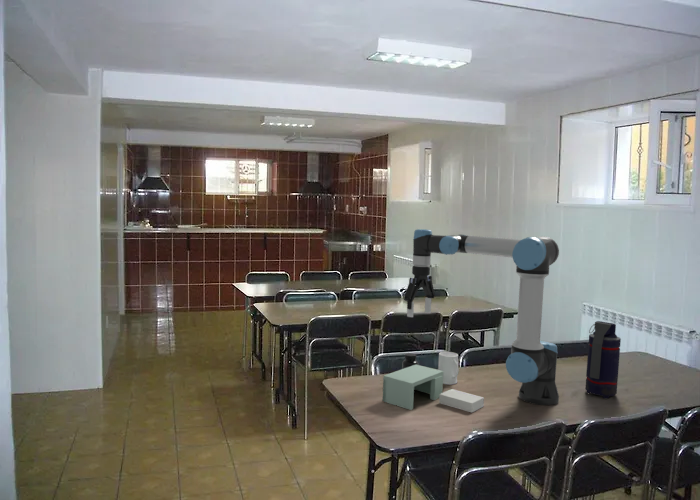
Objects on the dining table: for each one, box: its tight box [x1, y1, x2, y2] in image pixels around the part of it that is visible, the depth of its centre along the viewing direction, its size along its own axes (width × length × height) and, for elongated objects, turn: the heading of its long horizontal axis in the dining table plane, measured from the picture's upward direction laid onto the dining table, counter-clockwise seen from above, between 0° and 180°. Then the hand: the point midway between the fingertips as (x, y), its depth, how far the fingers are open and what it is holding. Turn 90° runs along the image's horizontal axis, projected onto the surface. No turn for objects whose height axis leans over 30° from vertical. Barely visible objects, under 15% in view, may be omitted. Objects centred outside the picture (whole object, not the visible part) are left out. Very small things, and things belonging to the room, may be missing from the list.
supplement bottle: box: [401, 352, 419, 369], centre depth 247 cm, size 7×7×12 cm
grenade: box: [584, 320, 622, 399], centre depth 239 cm, size 14×12×30 cm
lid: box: [438, 388, 485, 413], centre depth 222 cm, size 14×9×4 cm, turn 50°
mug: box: [437, 351, 460, 385], centre depth 248 cm, size 12×8×12 cm
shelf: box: [381, 364, 444, 411], centre depth 227 cm, size 14×22×10 cm, turn 140°
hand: (419, 314), depth 251 cm, fingers open, 13 cm apart
